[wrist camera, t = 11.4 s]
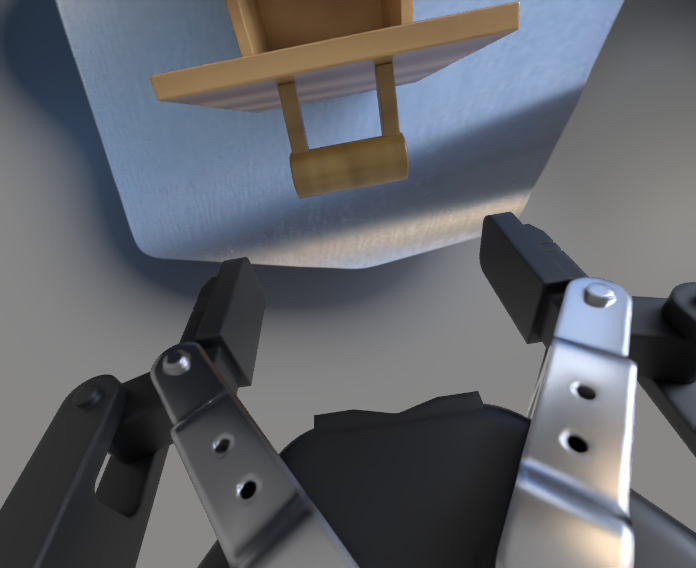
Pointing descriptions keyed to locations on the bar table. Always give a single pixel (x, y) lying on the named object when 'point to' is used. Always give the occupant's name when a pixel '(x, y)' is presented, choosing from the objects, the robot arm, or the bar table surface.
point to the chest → (309, 20)
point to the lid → (341, 89)
